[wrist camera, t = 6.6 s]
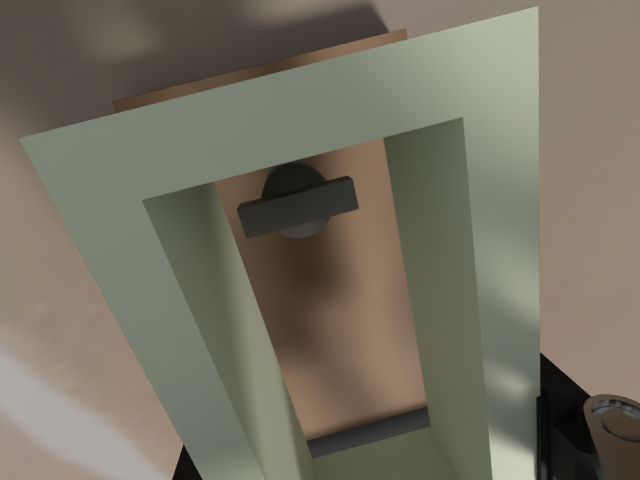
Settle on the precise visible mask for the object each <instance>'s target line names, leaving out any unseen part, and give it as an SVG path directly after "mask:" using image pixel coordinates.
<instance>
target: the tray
mask: <svg viewBox="0 0 640 480" xmlns="http://www.w3.org/2000/svg"><path fill="white" fill-rule="evenodd" d="M430 426H431V425H430V419H429V413H428V407H427V406H426V407H422V408H419V409H415V410H412V411H408V412H405V413H401V414H398V415H394V416H391V417H388V418H384V419H381V420H377V421H374V422H370V423H367V424H363V425H360V426H356V427H353V428H349V429H346V430H342V431H339V432H335V433H332V434H329V435H325V436H322V437H318V438H315V439H311V440H308V441H306V442H307V445H308V448H309V450H310V453H311V456H312V459H314V458H318V457H321V456H325V455H329V454H332V453H336V452H340V451H343V450H347V449H350V448H354V447H358V446H361V445H365V444H369V443H372V442H376V441H380V440H383V439H387V438H390V437H394V436H398V435H401V434H405V433H409V432H412V431H416V430H419V429H423V428H427V427H430Z"/></svg>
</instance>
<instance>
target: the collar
mask: <svg viewBox="0 0 640 480" xmlns="http://www.w3.org/2000/svg"><path fill="white" fill-rule="evenodd" d="M380 138H383V141H384V147H385V153H386V159H387V165H388V171H389V177H390V183H391V189H392V195H393V201H394V207H395V213H396V219H397V225H398V231H399V238H400V244H401V250H402V256H403V262H404V268H405V274H406V280H407V286H408V292H409V298H410V304H411V310H412V316H413V322H414V328H415V334H416V340H417V346H418V352H419V358H420V365H421V371H422V377H423V383H424V389H425V395H426V401H427V407H428V413H429V419H430V425H431V426H430V427H427V428H423V429H419V430H416V431H412V432H409V433H405V434H401V435H398V436H394V437H390V438H387V439H383V440H380V441H376V442H372V443H369V444H365V445H361V446H358V447H354V448H350V449H347V450H343V451H340V452H336V453H332V454H329V455H325V456H321V457H318V458H314V459H312V456H311V453H310V450H309V448H308V445H307V442H306V439H305V436H304V433H303V431H302V428H301V425H300V422H299V419H298V417H297V414H296V411H295V408H294V405H293V402H292V400H291V397H290V394H289V391H288V388H287V386H286V383H285V380H284V377H283V374H282V371H281V369H280V366H279V363H278V360H277V357H276V355H275V352H274V349H273V346H272V343H271V341H270V338H269V335H268V332H267V329H266V326H265V324H264V321H263V318H262V315H261V312H260V310H259V307H258V304H257V301H256V298H255V295H254V293H253V290H252V287H251V284H250V281H249V279H248V276H247V273H246V270H245V267H244V264H243V262H242V259H241V256H240V253H239V250H238V248H237V245H236V242H235V239H234V236H233V233H232V231H231V228H230V225H229V222H228V219H227V217H226V214H225V211H224V208H223V205H222V202H221V200H220V197H219V194H218V191H217V188H216V186H215V183H214V181H217V180H221V179H225V178H229V177H233V176H237V175H241V174H244V173H248V172H252V171H256V170H260V169H264V168H268V167H272V166H275V165H279V164H283V163H287V162H291V161H295V160H299V159H302V158H306V157H310V156H314V155H318V154H322V153H326V152H329V151H333V150H337V149H341V148H345V147H349V146H353V145H356V144H360V143H364V142H368V141H372V140H376V139H380ZM18 139H19V141H20V142H21V144H22V146H23V148H24V150H25V152H26V154H27V155H28V157H29V159H30V161H31V163H32V165H33V167H34V168H35V170H36V172H37V174H38V176H39V178H40V179H41V181H42V183H43V185H44V187H45V189H46V191H47V192H48V194H49V196H50V198H51V200H52V202H53V204H54V205H55V207H56V209H57V211H58V213H59V215H60V216H61V218H62V220H63V222H64V224H65V226H66V228H67V229H68V231H69V233H70V235H71V237H72V239H73V241H74V242H75V244H76V246H77V248H78V250H79V252H80V253H81V255H82V257H83V259H84V261H85V263H86V265H87V266H88V268H89V270H90V272H91V274H92V276H93V278H94V279H95V281H96V283H97V285H98V287H99V289H100V290H101V292H102V294H103V296H104V298H105V300H106V302H107V303H108V305H109V307H110V309H111V311H112V313H113V315H114V316H115V318H116V320H117V322H118V324H119V326H120V327H121V329H122V331H123V333H124V335H125V337H126V339H127V340H128V342H129V344H130V346H131V348H132V350H133V352H134V353H135V355H136V357H137V359H138V361H139V363H140V364H141V366H142V368H143V370H144V372H145V374H146V376H147V377H148V379H149V381H150V383H151V385H152V387H153V389H154V390H155V392H156V394H157V396H158V398H159V400H160V401H161V403H162V405H163V407H164V409H165V411H166V413H167V414H168V416H169V418H170V420H171V422H172V424H173V426H174V427H175V429H176V431H177V433H178V435H179V437H180V438H181V440H182V442H183V444H184V446H185V448H186V450H187V451H188V453H189V455H190V457H191V459H192V461H193V463H194V464H195V466H196V468H197V470H198V472H199V474H200V475H201V477H202V479H203V480H537V418H536V397H538V396H540V259H539V66H538V6H537V7H533V8H529V9H525V10H522V11H518V12H514V13H510V14H506V15H502V16H498V17H494V18H490V19H486V20H482V21H478V22H474V23H470V24H466V25H462V26H459V27H455V28H451V29H447V30H443V31H439V32H435V33H431V34H427V35H423V36H419V37H415V38H411V39H407V40H403V41H399V42H396V43H392V44H388V45H384V46H380V47H376V48H372V49H368V50H364V51H360V52H356V53H352V54H348V55H344V56H340V57H336V58H332V59H329V60H325V61H321V62H317V63H313V64H309V65H305V66H301V67H297V68H293V69H289V70H285V71H281V72H277V73H273V74H269V75H266V76H262V77H258V78H254V79H250V80H246V81H242V82H238V83H234V84H230V85H226V86H222V87H218V88H214V89H210V90H206V91H203V92H199V93H195V94H191V95H187V96H183V97H179V98H175V99H171V100H167V101H163V102H159V103H155V104H151V105H147V106H143V107H139V108H136V109H132V110H128V111H124V112H120V113H116V114H112V115H108V116H104V117H100V118H96V119H92V120H88V121H84V122H80V123H76V124H73V125H69V126H65V127H61V128H57V129H53V130H49V131H45V132H41V133H37V134H33V135H29V136H25V137H21V138H18Z"/></svg>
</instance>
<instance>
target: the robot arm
mask: <svg viewBox="0 0 640 480" xmlns="http://www.w3.org/2000/svg"><path fill="white" fill-rule="evenodd" d="M536 418H537V480H640V403H638V402H636V401H634V400H631V399H628V398H626V397H622V396H617V395H611V394H600V395H596V396H592V397H591V396H590V395H589V394H587V393H586V392H585V391H584V390H583V389H582V388H581V387H579V386H578V385H577V384H576V383H575V382H574V381H573V380H571V379H570V378H569V377H568V376H567V375H566V374H565V373H563V372H562V371H561V370H560V369H559V368H558V367H556V366H555V365H554V364H553V363H552V362H551V361H550V360H548V359H547V358H546V357H545V356H544V355H543V354H542V353H540V396H538V397H536ZM172 480H203V479H202V477H201V475H200V474H199V472H198V470H197V468H196V466H195V464H194V463H193V461H192V459H191V457H190V455H189V453H188V451H187V450H186V448H185V446H184V445H183V448H182V451H181V454H180V457H179V460H178V463H177V466H176V470H175V473H174V476H173V479H172Z"/></svg>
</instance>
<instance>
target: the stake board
mask: <svg viewBox="0 0 640 480" xmlns="http://www.w3.org/2000/svg"><path fill="white" fill-rule="evenodd" d="M403 40H407V33H406V28H405V29H401V30H397V31H393V32H389V33H385V34H381V35H377V36H373V37H369V38H365V39H361V40H357V41H353V42H349V43H345V44H341V45H337V46H333V47H329V48H325V49H321V50H317V51H313V52H309V53H305V54H301V55H297V56H293V57H289V58H285V59H282V60H278V61H274V62H270V63H266V64H262V65H258V66H254V67H250V68H246V69H242V70H238V71H234V72H230V73H226V74H222V75H218V76H214V77H210V78H206V79H202V80H198V81H194V82H190V83H186V84H182V85H178V86H174V87H170V88H166V89H162V90H158V91H154V92H150V93H146V94H142V95H138V96H134V97H130V98H126V99H122V100H118V101H114V102H112V103H113V105H114V107H115V110H116V112H117V113H120V112H124V111H128V110H132V109H136V108H139V107H143V106H147V105H151V104H155V103H159V102H163V101H167V100H171V99H175V98H179V97H183V96H187V95H191V94H195V93H199V92H203V91H206V90H210V89H214V88H218V87H222V86H226V85H230V84H234V83H238V82H242V81H246V80H250V79H254V78H258V77H262V76H266V75H269V74H273V73H277V72H281V71H285V70H289V69H293V68H297V67H301V66H305V65H309V64H313V63H317V62H321V61H325V60H329V59H332V58H336V57H340V56H344V55H348V54H352V53H356V52H360V51H364V50H368V49H372V48H376V47H380V46H384V45H388V44H392V43H396V42H399V41H403ZM214 183H215V186H216V188H217V191H218V194H219V197H220V200H221V202H222V205H223V208H224V211H225V214H226V217H227V219H228V222H229V225H230V228H231V231H232V233H233V236H234V239H235V242H236V245H237V248H238V250H239V253H240V256H241V259H242V262H243V264H244V267H245V270H246V273H247V276H248V279H249V281H250V284H251V287H252V290H253V293H254V295H255V298H256V301H257V304H258V307H259V310H260V312H261V315H262V318H263V321H264V324H265V326H266V329H267V332H268V335H269V338H270V341H271V343H272V346H273V349H274V352H275V355H276V357H277V360H278V363H279V366H280V369H281V371H282V374H283V377H284V380H285V383H286V386H287V388H288V391H289V394H290V397H291V400H292V402H293V405H294V408H295V411H296V414H297V417H298V419H299V422H300V425H301V428H302V431H303V433H304V436H305V439H306V441H308V440H311V439H315V438H318V437H322V436H325V435H329V434H332V433H335V432H339V431H342V430H346V429H349V428H353V427H356V426H360V425H363V424H367V423H370V422H374V421H377V420H381V419H384V418H388V417H391V416H394V415H398V414H401V413H405V412H408V411H412V410H415V409H419V408H422V407H426V406H427V401H426V395H425V389H424V383H423V377H422V371H421V365H420V358H419V352H418V346H417V340H416V334H415V328H414V322H413V316H412V310H411V304H410V298H409V292H408V286H407V280H406V274H405V268H404V262H403V256H402V250H401V244H400V238H399V231H398V225H397V219H396V213H395V207H394V201H393V195H392V189H391V183H390V177H389V171H388V165H387V159H386V153H385V147H384V141H383V138H380V139H376V140H372V141H368V142H364V143H360V144H356V145H353V146H349V147H345V148H341V149H337V150H333V151H329V152H326V153H322V154H318V155H314V156H310V157H306V158H302V159H299V160H295V161H291V162H287V163H283V164H279V165H275V166H272V167H268V168H264V169H260V170H256V171H252V172H248V173H244V174H241V175H237V176H233V177H229V178H225V179H221V180H217V181H214Z"/></svg>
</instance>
